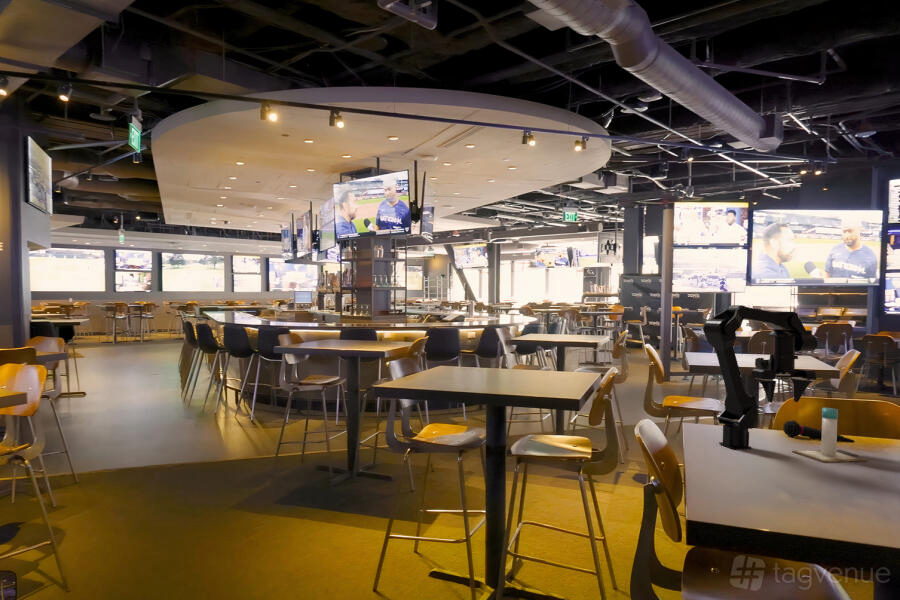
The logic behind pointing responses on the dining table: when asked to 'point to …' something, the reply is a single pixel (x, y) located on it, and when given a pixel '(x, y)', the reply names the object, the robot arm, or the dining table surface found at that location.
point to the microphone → (807, 431)
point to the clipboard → (840, 456)
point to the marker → (829, 431)
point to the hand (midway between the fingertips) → (783, 402)
